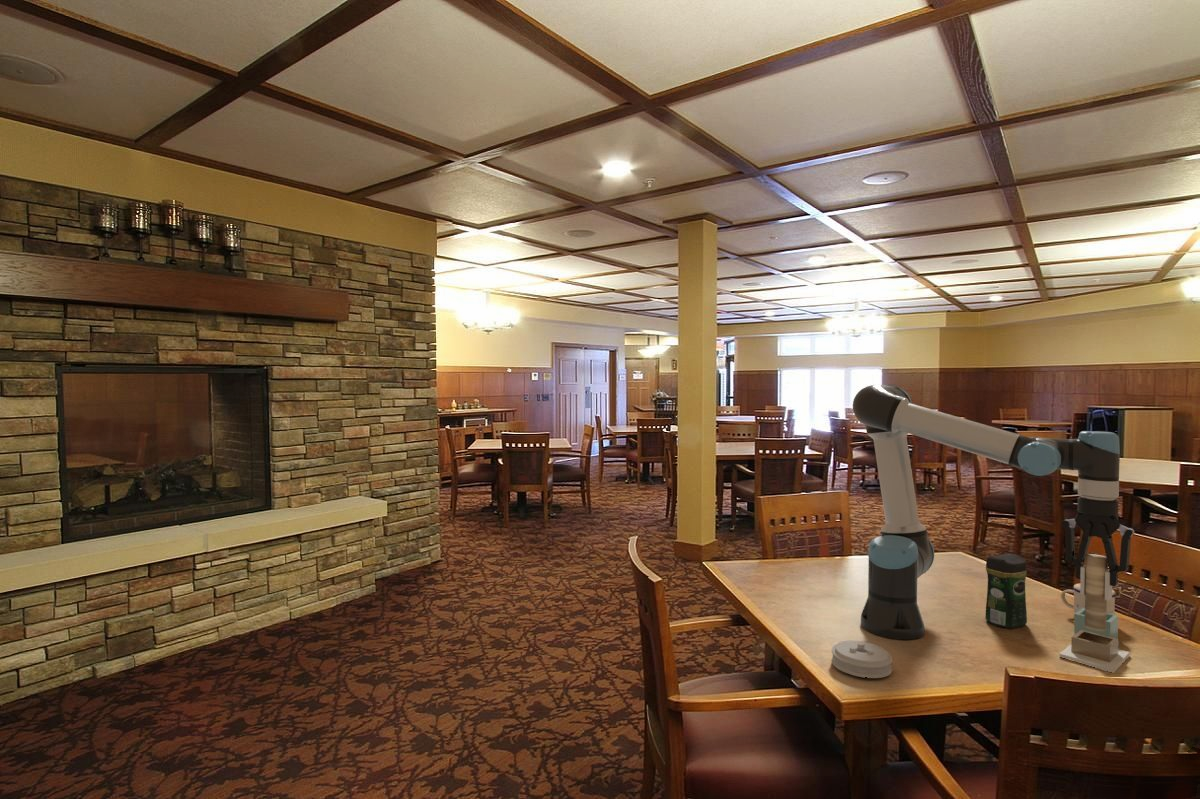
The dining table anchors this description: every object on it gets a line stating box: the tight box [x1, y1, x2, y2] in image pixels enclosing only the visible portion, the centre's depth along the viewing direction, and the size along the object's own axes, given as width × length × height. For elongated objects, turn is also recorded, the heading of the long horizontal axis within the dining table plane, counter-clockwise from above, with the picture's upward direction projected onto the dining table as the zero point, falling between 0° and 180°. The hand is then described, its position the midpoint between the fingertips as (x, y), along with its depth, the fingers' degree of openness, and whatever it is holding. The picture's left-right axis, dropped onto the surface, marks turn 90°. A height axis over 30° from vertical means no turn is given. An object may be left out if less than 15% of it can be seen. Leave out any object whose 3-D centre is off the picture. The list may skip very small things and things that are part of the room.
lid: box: [831, 639, 893, 679], centre depth 140 cm, size 13×13×5 cm
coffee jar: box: [985, 552, 1028, 629], centre depth 167 cm, size 10×8×19 cm
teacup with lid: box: [1060, 583, 1117, 619], centre depth 169 cm, size 12×9×12 cm
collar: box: [1070, 630, 1119, 662], centre depth 146 cm, size 7×7×4 cm
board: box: [1059, 644, 1131, 674], centre depth 146 cm, size 14×10×1 cm
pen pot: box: [1073, 608, 1119, 639], centre depth 157 cm, size 7×7×6 cm
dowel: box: [1085, 553, 1109, 631], centre depth 146 cm, size 4×4×17 cm
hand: (1095, 595), depth 146 cm, fingers closed on dowel, 4 cm apart
